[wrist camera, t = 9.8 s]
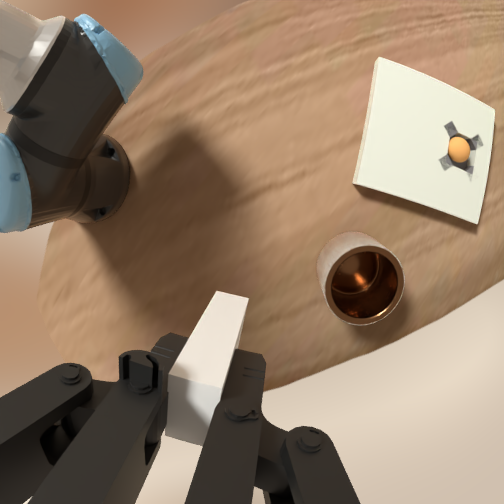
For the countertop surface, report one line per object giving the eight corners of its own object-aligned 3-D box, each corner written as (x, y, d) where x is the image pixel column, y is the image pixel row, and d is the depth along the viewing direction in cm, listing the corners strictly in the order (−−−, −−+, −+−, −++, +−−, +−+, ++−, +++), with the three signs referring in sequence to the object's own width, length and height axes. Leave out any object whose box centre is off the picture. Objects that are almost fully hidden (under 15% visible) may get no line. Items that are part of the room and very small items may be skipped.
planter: (380, 298, 46) (399, 324, 37) (314, 299, 48) (320, 327, 38) (386, 230, 44) (409, 244, 35) (316, 230, 45) (325, 243, 36)
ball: (448, 162, 41) (441, 155, 38) (452, 139, 40) (445, 131, 37) (470, 167, 38) (465, 160, 35) (474, 144, 37) (468, 135, 34)
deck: (352, 183, 43) (356, 183, 40) (374, 62, 38) (379, 56, 36) (469, 222, 42) (477, 224, 39) (487, 111, 37) (495, 109, 34)
